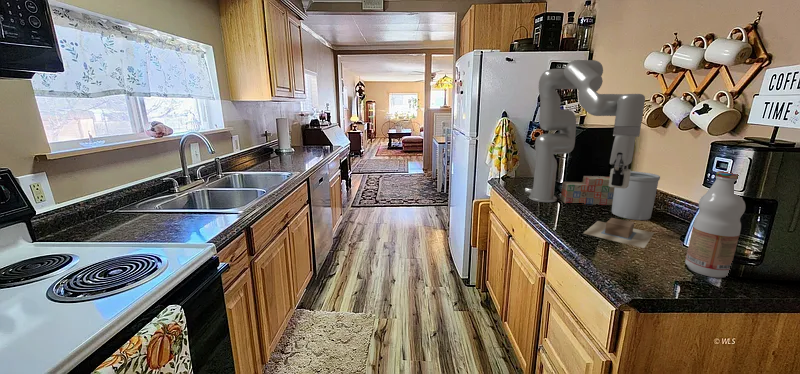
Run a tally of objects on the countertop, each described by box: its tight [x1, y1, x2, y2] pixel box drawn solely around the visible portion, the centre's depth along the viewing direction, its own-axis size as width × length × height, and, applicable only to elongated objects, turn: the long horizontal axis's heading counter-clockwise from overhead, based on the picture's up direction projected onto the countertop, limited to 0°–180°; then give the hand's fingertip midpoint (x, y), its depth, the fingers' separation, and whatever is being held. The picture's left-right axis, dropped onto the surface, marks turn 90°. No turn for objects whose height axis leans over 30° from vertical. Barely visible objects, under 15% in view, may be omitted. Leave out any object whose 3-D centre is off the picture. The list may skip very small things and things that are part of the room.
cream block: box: [609, 167, 632, 189], centre depth 118 cm, size 5×5×6 cm
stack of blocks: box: [560, 175, 615, 206], centre depth 158 cm, size 21×6×12 cm, turn 84°
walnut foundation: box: [605, 217, 635, 238], centre depth 119 cm, size 7×7×4 cm
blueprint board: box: [583, 220, 655, 249], centre depth 120 cm, size 18×18×1 cm
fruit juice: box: [684, 170, 746, 278], centre depth 92 cm, size 9×9×28 cm
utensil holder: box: [611, 170, 661, 221], centre depth 140 cm, size 15×15×18 cm
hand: (618, 183), depth 119 cm, fingers closed on cream block, 4 cm apart
